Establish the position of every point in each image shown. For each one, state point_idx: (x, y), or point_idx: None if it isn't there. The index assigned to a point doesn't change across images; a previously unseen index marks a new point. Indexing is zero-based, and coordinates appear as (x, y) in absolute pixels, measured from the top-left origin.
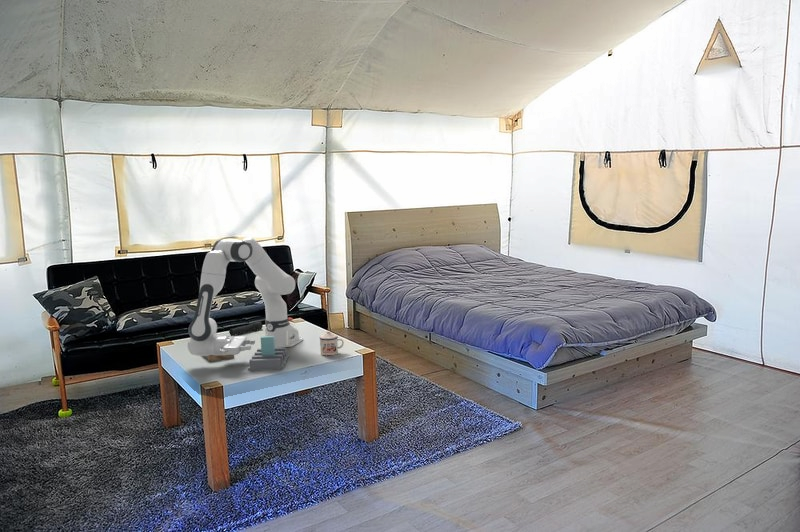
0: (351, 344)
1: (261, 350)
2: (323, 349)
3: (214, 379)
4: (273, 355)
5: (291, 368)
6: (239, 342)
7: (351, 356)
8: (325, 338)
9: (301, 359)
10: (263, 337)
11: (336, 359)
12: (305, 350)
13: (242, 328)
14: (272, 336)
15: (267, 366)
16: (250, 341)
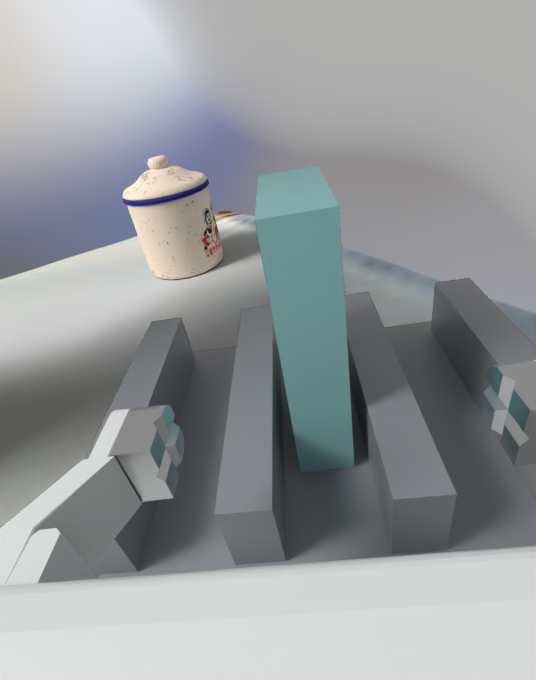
0: (94, 250)
1: (347, 371)
2: (207, 240)
3: None
4: (364, 329)
5: (423, 306)
6: (509, 647)
7: (244, 224)
8: (200, 180)
9: None
10: (331, 194)
11: None
12: (84, 332)
13: None
14: (288, 173)
15: None
16: (113, 478)
